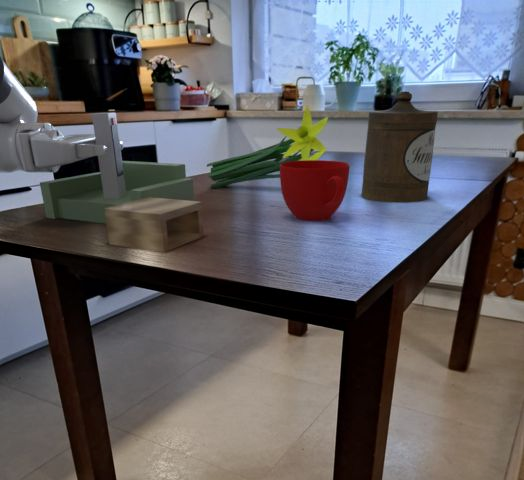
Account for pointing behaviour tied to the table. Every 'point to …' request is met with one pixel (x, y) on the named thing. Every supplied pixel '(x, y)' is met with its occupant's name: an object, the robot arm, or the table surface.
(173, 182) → the sofa
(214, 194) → the table surface
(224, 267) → the table surface
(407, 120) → the wooden container
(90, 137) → the robot arm
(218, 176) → the daffodil flowers
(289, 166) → the ceramic cup
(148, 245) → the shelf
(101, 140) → the grey rectangular block
